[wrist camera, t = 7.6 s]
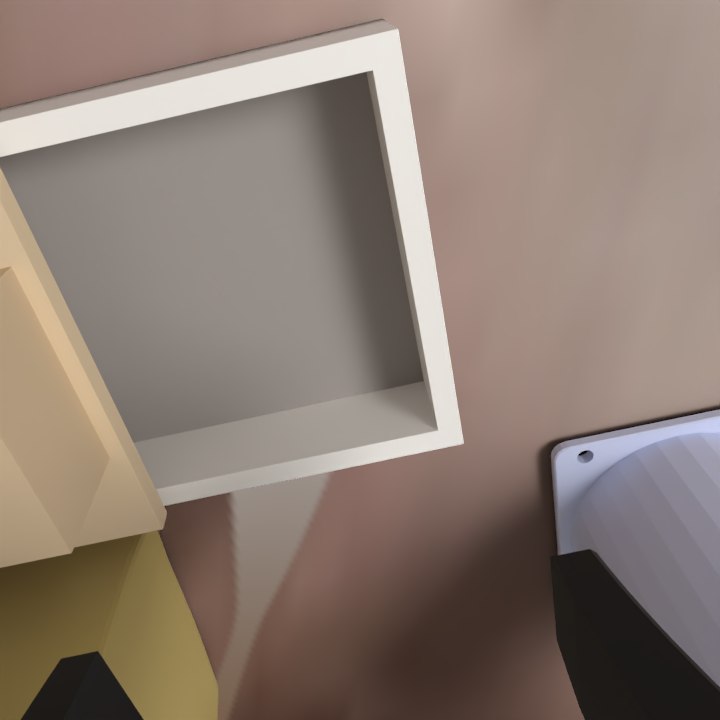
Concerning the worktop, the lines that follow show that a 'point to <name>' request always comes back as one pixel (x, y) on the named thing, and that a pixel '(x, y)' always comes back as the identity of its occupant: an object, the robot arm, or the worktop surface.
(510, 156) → the worktop surface
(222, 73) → the box
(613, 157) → the worktop surface
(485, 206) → the worktop surface
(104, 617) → the cheese
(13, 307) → the lid
